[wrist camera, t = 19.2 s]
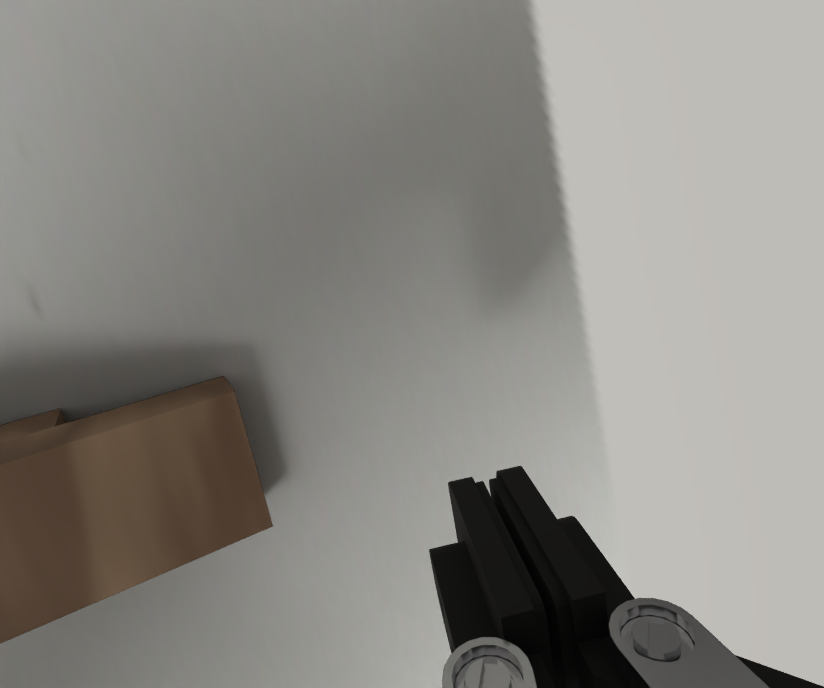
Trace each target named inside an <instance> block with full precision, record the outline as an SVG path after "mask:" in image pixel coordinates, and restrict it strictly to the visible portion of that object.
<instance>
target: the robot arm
mask: <svg viewBox="0 0 824 688" xmlns="http://www.w3.org/2000/svg"><path fill="white" fill-rule="evenodd" d="M496 477H497V478H494V479H490V480H489V485H490V493H491V496H490V494H489V492H488V490H487V488H486V486H485V484H484V482H483V481H481V482H476V483H475V481H474V479H473V478H472V477H469V478H464V479H460V480H455V481H451V482H448V486H449V493H450V499H451V504H452V510H453V516H454V522H455V528H456V533H457V539H458V543H454V544H450V545H446V546H441V547H437V548H433V549H429V552H430V558H431V563H432V569H433V574H434V579H435V584H436V589H437V594H438V598H439V603H440V607H441V612H442V616H443V620H444V624H445V629H446V633H447V637H448V641H449V645H450V649H451V653H452V654H451V655H450V656H449V658H448V660H447V662H446V664H445V666H444V670H443V677H442V688H824V687H823V686H820V685H817V684H814V683H812V682H809V681H806V680H803V679H801V678H798V677H795V676H792V675H789V674H787V673H784V672H781V671H778V670H775V669H772V668H770V667H767V666H764V665H761V664H759V663H756V662H753V661H750V660H747V659H744V658H742V657H739V656H736V655H734V654H733V653H732V652H731V651H730V650H729V649H727V648H726V647H725V646H724V645H723V644H722V643H721V642H720V641H719V640H718V639H717V638H716V637H715V636H714V635H712V634H711V633H710V632H709V631H708V630H707V629H706V628H705V627H704V626H703V625H702V624H701V623H700V622H698V620H696V619H695V618H694V617H693V616H692V615H691V614H689V613H688V612H687V611H685V610H684V609H682V608H681V607H679V606H677V605H674V604H672V603H670V602H668V601H663V600H658V599H654V598H637V599H635V598H634V597H633V595H632V594H631V593H630V591H629V590H628V589H627V587H626V586H625V585H624V583H623V582H622V580H621V579H620V578H619V576H618V575H617V574H616V572H615V571H614V569H613V568H612V567H611V565H610V564H609V563H608V561H607V560H606V558H605V557H604V556H603V554H602V553H601V552H600V550H599V549H598V547H597V546H596V545H595V543H594V542H593V541H592V539H591V538H590V536H589V535H588V534H587V532H586V531H585V530H584V528H583V527H582V526H581V524H580V523H579V521H578V520H577V519H576V518H575V517H573V516H569V517H565V518H561V519H557V518H556V517H555V515H554V514H553V512H552V511H551V509H550V508H549V507H548V505H547V504H546V502H545V501H544V499H543V498H542V496H541V495H540V493H539V492H538V490H537V489H536V487H535V486H534V484H533V483H532V481H531V480H530V478H529V477H528V475H527V474H526V472H525V471H524V469H523V468H522V467H521V466H517V467H513V468H509V469H504V470H500V471H497V473H496Z"/></svg>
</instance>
